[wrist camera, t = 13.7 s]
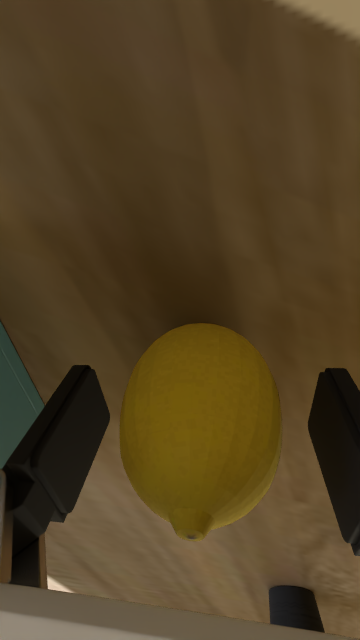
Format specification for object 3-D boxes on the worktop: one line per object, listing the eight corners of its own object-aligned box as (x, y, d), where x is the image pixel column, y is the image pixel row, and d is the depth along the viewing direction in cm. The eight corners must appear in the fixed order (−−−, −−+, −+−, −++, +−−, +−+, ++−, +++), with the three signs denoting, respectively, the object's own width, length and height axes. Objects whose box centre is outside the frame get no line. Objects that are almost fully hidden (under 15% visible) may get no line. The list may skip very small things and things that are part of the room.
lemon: (227, 395, 15) (232, 595, 8) (135, 356, 14) (59, 538, 8) (288, 322, 12) (376, 538, 5) (177, 269, 11) (114, 438, 5)
